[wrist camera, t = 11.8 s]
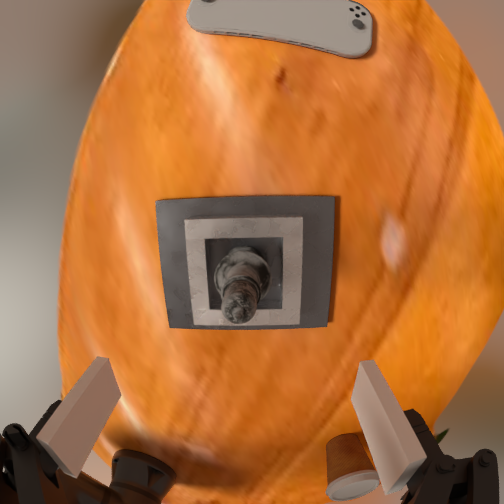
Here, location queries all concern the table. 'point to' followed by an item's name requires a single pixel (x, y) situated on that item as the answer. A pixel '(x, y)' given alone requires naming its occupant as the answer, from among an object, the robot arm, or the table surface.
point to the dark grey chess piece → (242, 283)
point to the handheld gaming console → (289, 22)
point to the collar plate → (253, 235)
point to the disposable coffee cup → (349, 469)
